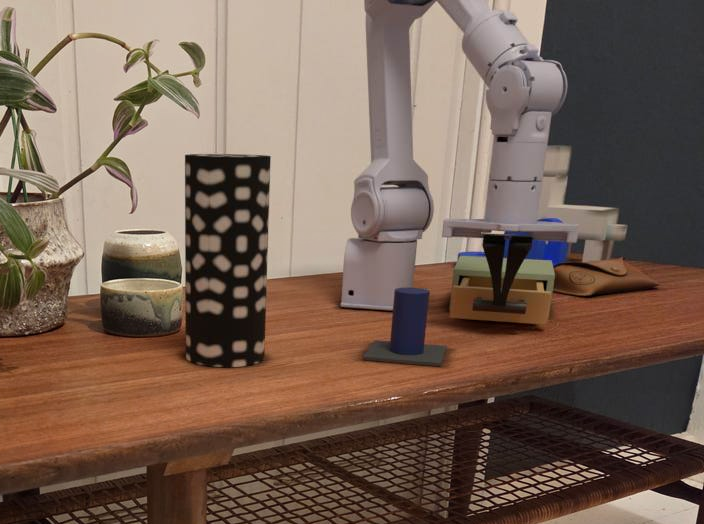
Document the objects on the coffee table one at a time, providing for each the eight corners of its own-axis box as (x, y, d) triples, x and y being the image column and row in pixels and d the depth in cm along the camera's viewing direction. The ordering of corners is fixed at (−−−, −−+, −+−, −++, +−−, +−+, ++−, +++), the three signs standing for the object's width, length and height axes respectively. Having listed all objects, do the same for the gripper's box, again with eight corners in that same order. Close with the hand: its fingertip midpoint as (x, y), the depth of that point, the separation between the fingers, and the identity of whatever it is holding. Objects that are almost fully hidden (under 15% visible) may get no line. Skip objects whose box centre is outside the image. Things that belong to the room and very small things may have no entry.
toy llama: (610, 272, 152) (631, 148, 144) (513, 261, 162) (528, 145, 155) (624, 267, 157) (645, 147, 150) (529, 257, 168) (545, 145, 160)
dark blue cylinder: (387, 353, 94) (392, 292, 91) (391, 346, 97) (396, 286, 94) (421, 356, 93) (427, 294, 90) (425, 348, 96) (431, 288, 94)
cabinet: (548, 318, 114) (555, 274, 112) (449, 311, 118) (453, 269, 115) (545, 300, 126) (551, 260, 124) (455, 294, 130) (459, 255, 127)
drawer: (547, 332, 102) (552, 299, 101) (447, 324, 105) (450, 292, 104) (544, 306, 117) (548, 277, 116) (456, 300, 120) (459, 272, 119)
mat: (363, 360, 93) (363, 356, 92) (374, 343, 100) (374, 340, 100) (440, 366, 90) (441, 363, 90) (446, 349, 98) (446, 345, 97)
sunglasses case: (590, 294, 127) (577, 251, 128) (552, 312, 133) (539, 271, 134) (664, 285, 136) (652, 244, 137) (625, 302, 142) (613, 263, 143)
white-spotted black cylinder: (175, 351, 95) (173, 154, 88) (246, 345, 98) (251, 154, 90) (200, 370, 88) (201, 157, 80) (276, 363, 91) (284, 157, 83)
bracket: (563, 275, 147) (572, 219, 144) (532, 279, 143) (540, 222, 140) (477, 262, 161) (483, 210, 158) (446, 265, 156) (452, 212, 153)
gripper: (445, 180, 96) (433, 305, 101) (587, 183, 92) (567, 314, 97) (450, 177, 102) (438, 295, 107) (583, 180, 98) (564, 303, 103)
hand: (499, 303), depth 102 cm, fingers closed, pressing on drawer
